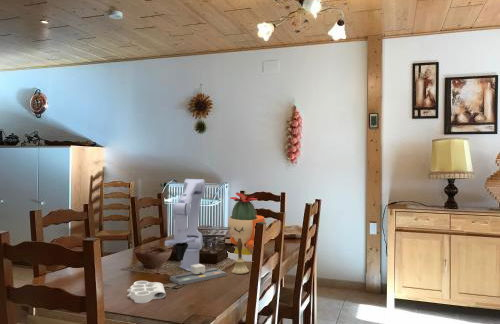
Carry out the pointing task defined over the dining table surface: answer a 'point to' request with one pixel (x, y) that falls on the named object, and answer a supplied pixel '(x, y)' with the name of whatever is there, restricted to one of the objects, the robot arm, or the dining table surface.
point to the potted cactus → (243, 226)
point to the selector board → (197, 276)
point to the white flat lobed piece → (146, 291)
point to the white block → (198, 269)
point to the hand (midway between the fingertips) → (180, 259)
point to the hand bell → (240, 261)
